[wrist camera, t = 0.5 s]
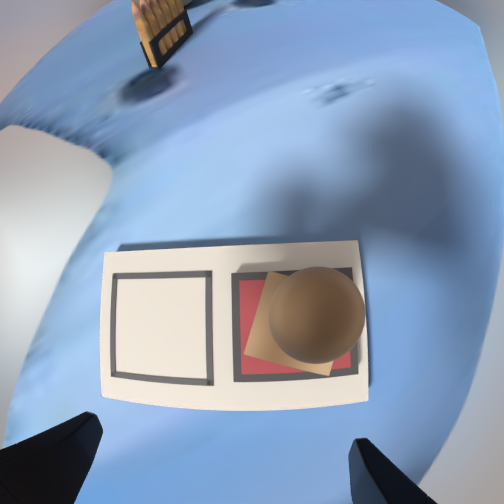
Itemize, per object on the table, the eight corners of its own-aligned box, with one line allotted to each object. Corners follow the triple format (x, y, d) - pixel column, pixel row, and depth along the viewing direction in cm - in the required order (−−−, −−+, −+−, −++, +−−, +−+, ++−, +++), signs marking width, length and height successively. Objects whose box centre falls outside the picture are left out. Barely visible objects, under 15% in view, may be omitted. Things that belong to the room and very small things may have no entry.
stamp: (341, 297, 20) (415, 251, 9) (322, 371, 19) (381, 410, 7) (268, 278, 21) (264, 209, 10) (247, 351, 20) (214, 372, 8)
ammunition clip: (159, 69, 33) (134, 3, 22) (149, 69, 33) (122, 5, 22) (193, 32, 36) (178, -26, 24) (183, 32, 36) (167, -25, 25)
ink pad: (347, 270, 22) (351, 266, 21) (354, 372, 20) (358, 374, 18) (233, 276, 22) (231, 272, 21) (235, 379, 20) (233, 382, 19)
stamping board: (353, 245, 24) (358, 239, 22) (362, 397, 20) (368, 400, 19) (112, 256, 25) (104, 252, 24) (110, 394, 22) (101, 396, 20)
